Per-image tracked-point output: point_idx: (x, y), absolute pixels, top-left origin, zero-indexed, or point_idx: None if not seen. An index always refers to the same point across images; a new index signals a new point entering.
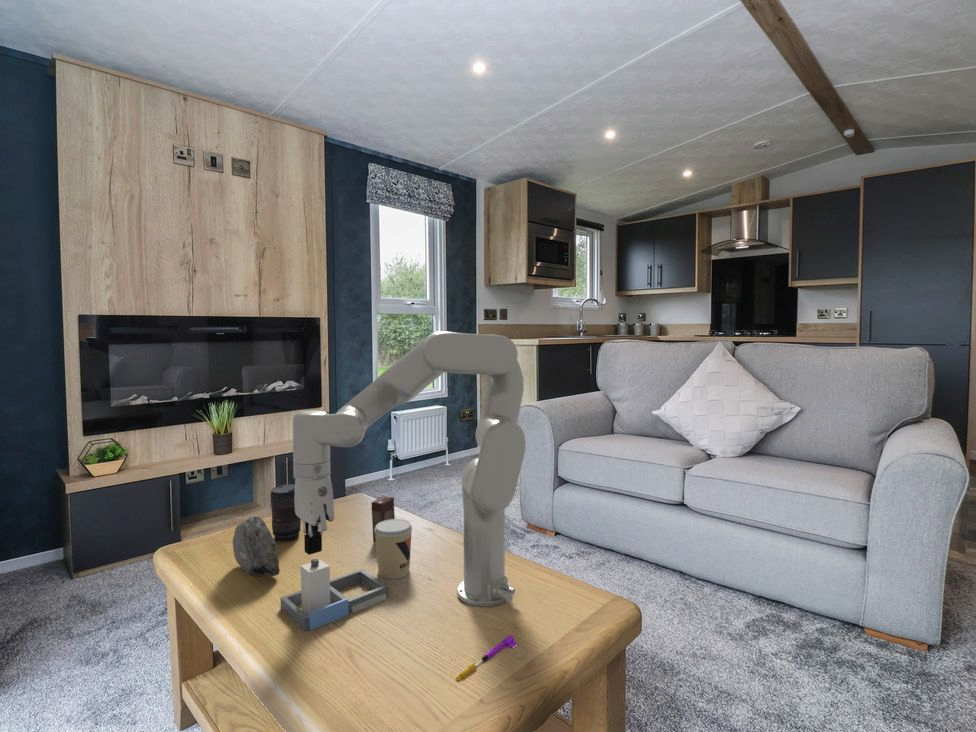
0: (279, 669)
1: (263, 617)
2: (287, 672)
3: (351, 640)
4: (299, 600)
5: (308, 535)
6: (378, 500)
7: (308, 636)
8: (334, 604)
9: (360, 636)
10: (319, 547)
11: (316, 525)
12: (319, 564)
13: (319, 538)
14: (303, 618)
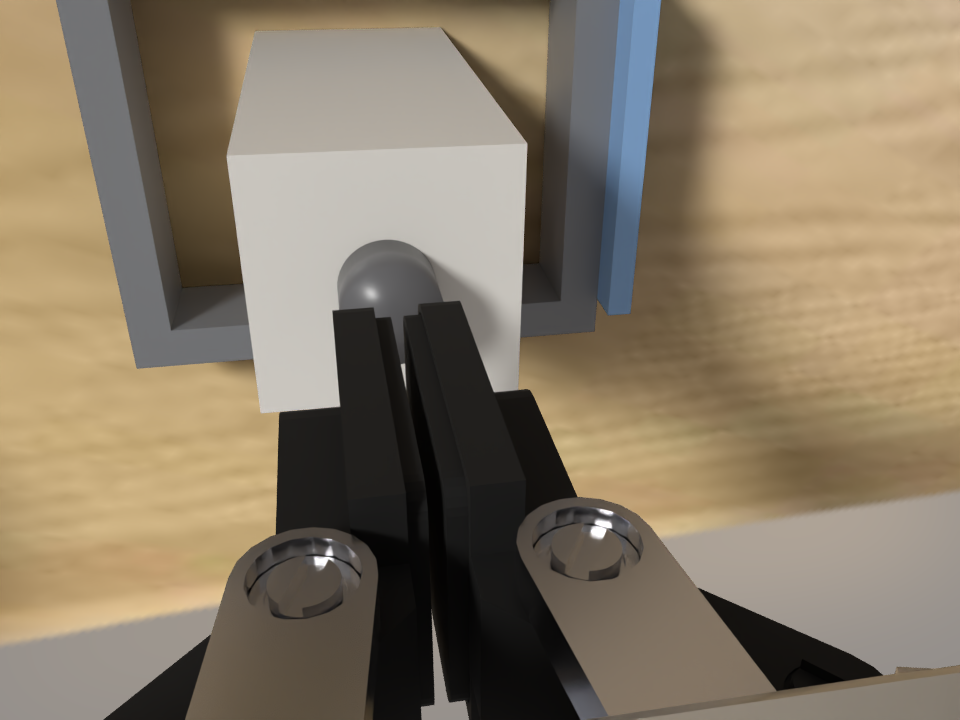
0: (786, 486)
1: (207, 439)
2: (836, 465)
3: (903, 94)
4: (159, 199)
5: (425, 684)
6: None
7: (642, 290)
8: (648, 103)
9: (921, 21)
10: (532, 397)
11: (374, 664)
12: (384, 225)
13: (575, 496)
14: (581, 331)
